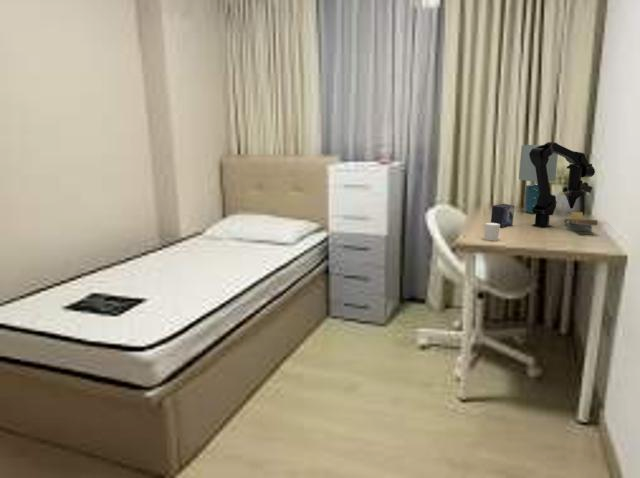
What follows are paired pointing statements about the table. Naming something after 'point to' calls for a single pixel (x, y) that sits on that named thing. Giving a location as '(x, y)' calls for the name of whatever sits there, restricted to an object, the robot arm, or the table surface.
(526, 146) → the lamp
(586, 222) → the brown long shallow tray
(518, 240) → the table surface
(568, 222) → the pivot stand
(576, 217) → the block
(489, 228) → the white cup
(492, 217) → the small box
